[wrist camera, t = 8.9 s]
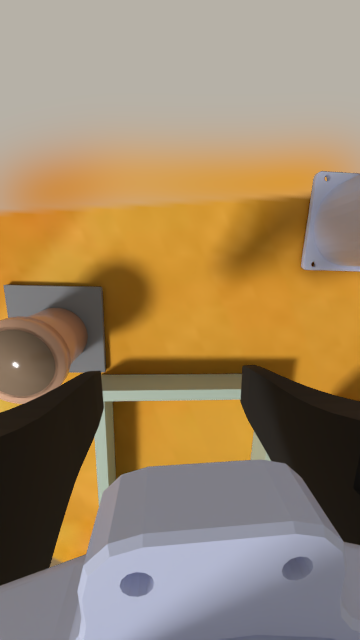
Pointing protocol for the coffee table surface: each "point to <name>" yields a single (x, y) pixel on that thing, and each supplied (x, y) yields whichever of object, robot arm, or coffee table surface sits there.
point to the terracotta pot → (38, 352)
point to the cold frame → (158, 390)
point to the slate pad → (70, 298)
